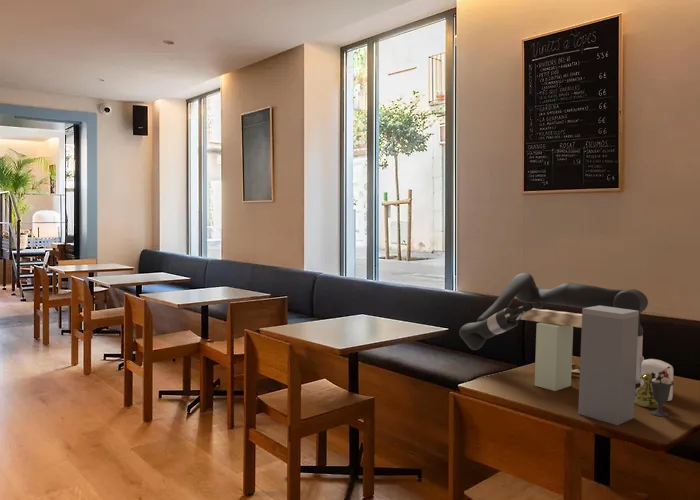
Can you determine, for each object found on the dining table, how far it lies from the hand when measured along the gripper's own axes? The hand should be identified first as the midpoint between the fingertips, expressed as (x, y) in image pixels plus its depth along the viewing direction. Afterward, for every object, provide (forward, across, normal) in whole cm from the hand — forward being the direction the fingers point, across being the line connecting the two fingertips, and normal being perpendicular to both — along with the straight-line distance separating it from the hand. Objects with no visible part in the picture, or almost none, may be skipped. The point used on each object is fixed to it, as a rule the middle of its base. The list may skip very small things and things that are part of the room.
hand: (537, 304), depth 208 cm
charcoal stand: (+16, -15, +41) cm, 47 cm away
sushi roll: (-12, +22, +26) cm, 36 cm away
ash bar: (+3, 0, +8) cm, 9 cm away
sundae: (+24, 0, +46) cm, 52 cm away
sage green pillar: (-8, 0, +28) cm, 29 cm away
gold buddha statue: (+18, +6, +43) cm, 47 cm away
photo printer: (+16, +17, +42) cm, 48 cm away
